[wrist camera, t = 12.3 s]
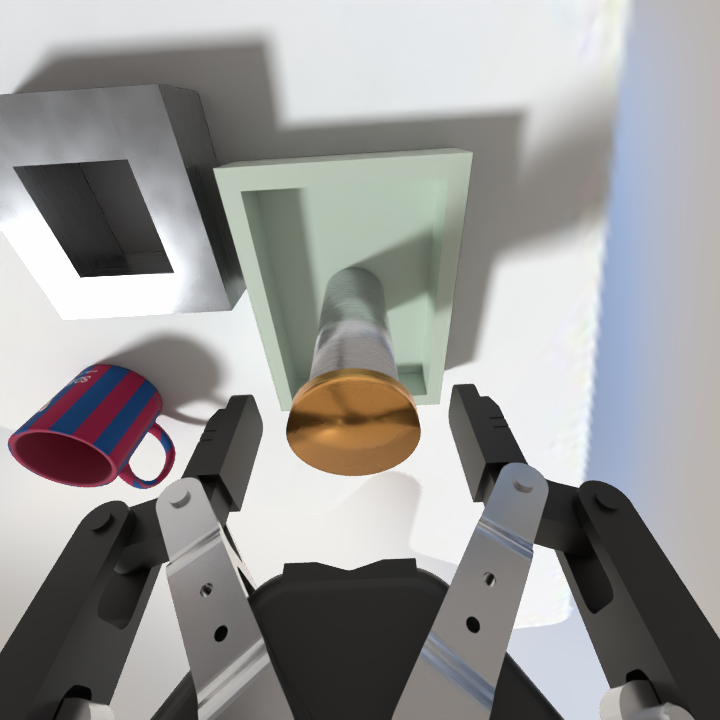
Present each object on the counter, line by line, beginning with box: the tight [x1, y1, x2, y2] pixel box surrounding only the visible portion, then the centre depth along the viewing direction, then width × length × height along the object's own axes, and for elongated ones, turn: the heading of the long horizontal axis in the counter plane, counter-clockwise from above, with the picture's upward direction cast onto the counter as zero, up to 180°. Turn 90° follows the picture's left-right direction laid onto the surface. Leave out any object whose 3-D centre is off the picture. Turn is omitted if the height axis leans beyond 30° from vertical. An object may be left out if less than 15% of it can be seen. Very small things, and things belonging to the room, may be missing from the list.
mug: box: [8, 365, 175, 489], centre depth 26 cm, size 7×10×7 cm
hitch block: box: [0, 84, 247, 319], centre depth 17 cm, size 10×10×4 cm
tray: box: [213, 147, 473, 411], centre depth 21 cm, size 16×12×3 cm
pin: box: [286, 267, 421, 476], centre depth 17 cm, size 5×5×12 cm
